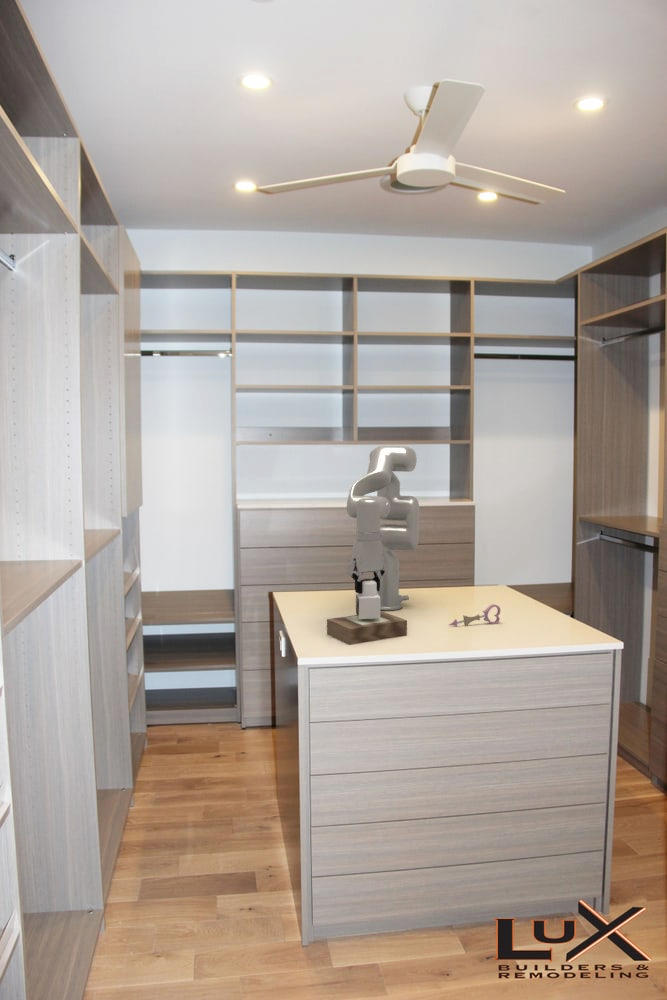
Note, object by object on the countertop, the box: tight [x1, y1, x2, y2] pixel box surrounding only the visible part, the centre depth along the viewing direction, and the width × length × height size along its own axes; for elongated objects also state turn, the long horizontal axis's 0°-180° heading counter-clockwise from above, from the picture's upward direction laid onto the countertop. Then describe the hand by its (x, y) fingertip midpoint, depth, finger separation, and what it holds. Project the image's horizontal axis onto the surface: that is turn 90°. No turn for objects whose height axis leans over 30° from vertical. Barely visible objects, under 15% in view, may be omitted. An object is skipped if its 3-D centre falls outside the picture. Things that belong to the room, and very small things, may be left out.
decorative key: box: [448, 603, 501, 628], centre depth 256 cm, size 7×1×20 cm
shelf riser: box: [326, 610, 408, 645], centre depth 242 cm, size 22×14×5 cm, turn 121°
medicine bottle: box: [355, 578, 381, 619], centre depth 241 cm, size 7×7×12 cm
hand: (367, 591), depth 241 cm, fingers closed on medicine bottle, 6 cm apart
